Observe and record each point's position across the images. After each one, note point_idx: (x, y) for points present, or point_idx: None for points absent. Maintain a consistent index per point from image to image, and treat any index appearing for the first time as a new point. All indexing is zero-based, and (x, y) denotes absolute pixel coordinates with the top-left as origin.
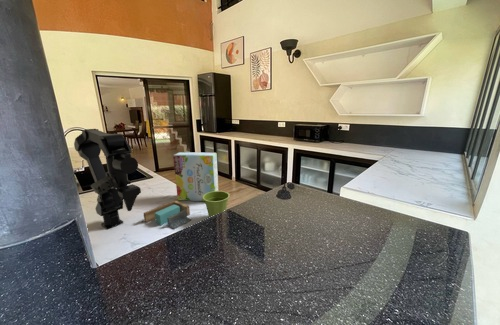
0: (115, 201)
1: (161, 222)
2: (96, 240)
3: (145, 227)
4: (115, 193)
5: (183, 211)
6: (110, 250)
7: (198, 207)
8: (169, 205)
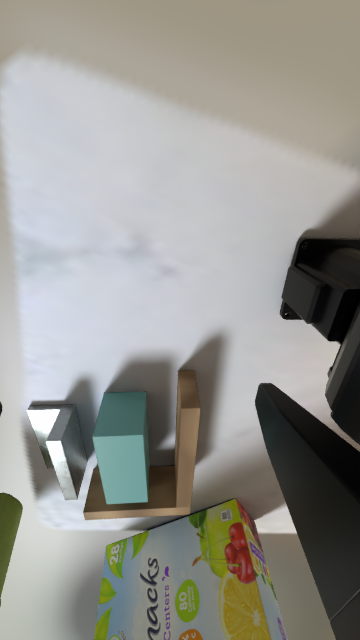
0: (281, 411)
1: (101, 406)
2: (246, 140)
3: (145, 352)
4: (355, 556)
5: (65, 492)
6: (67, 142)
7: None
8: (176, 485)
